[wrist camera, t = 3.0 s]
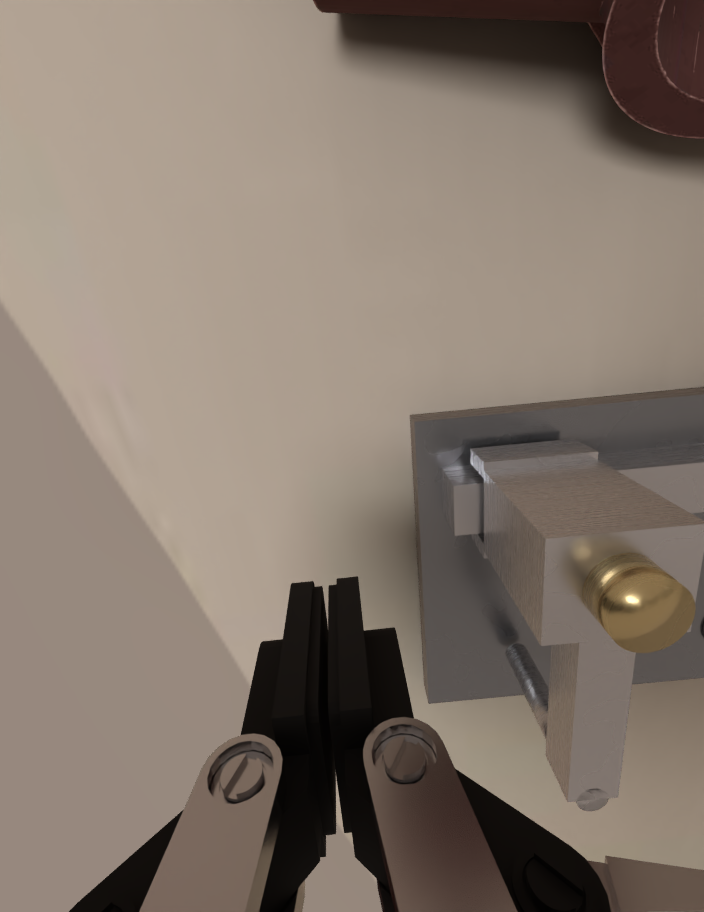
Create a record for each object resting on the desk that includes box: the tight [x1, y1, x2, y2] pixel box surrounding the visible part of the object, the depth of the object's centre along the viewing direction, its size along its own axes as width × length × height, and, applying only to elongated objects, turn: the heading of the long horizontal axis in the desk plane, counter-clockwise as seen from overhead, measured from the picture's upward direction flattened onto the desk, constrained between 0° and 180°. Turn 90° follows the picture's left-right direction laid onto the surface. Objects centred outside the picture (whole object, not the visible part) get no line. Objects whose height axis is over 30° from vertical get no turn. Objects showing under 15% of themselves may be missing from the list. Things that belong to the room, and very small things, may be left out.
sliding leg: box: [470, 439, 704, 811], centre depth 15 cm, size 4×10×8 cm, turn 5°
